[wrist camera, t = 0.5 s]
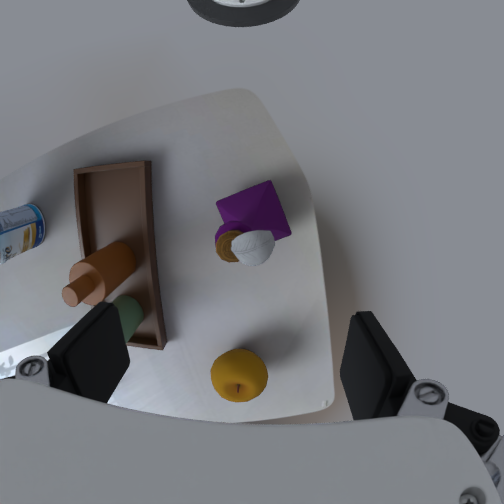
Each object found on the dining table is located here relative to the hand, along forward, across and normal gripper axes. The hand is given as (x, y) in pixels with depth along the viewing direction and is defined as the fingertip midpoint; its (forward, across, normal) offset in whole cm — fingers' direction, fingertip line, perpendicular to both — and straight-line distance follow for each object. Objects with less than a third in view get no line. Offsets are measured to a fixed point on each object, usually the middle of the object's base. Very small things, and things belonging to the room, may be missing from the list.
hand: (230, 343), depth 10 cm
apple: (+30, +2, +24) cm, 38 cm away
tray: (+30, +21, +7) cm, 37 cm away
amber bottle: (+29, +21, +7) cm, 37 cm away
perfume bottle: (+30, 0, 0) cm, 30 cm away
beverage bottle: (+30, +41, +1) cm, 51 cm away
